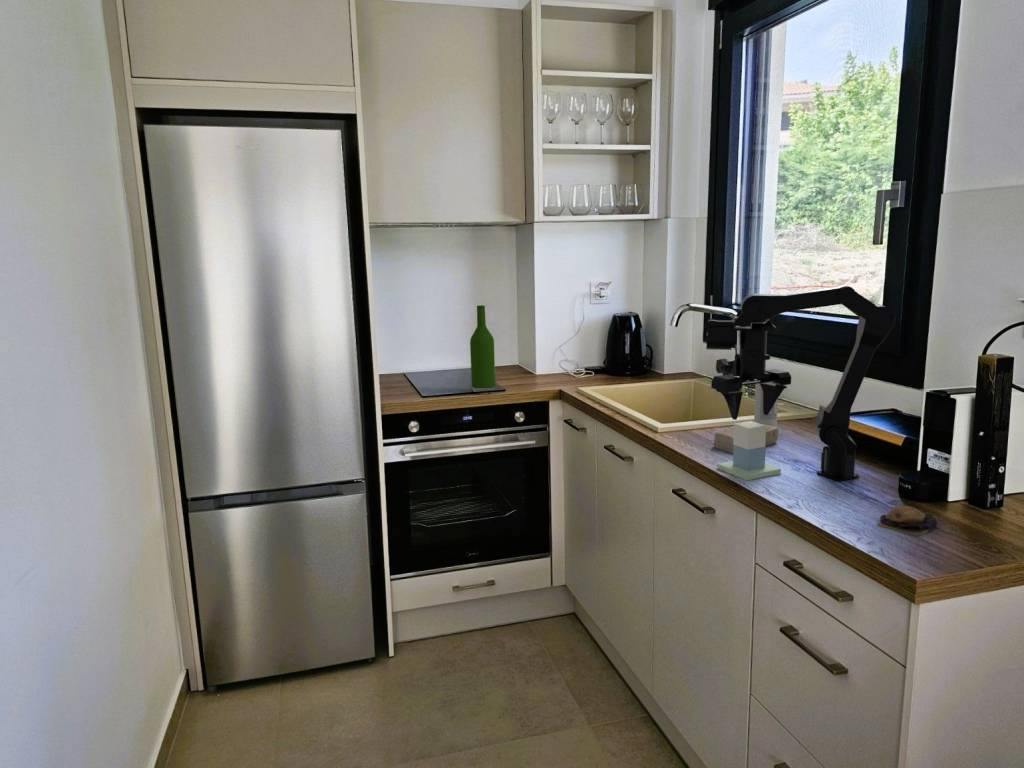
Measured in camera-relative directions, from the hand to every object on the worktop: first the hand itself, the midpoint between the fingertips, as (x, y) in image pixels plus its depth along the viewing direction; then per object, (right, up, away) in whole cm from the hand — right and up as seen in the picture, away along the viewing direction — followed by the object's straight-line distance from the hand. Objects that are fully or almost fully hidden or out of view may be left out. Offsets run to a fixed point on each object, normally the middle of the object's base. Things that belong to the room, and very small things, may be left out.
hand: (750, 417), depth 162 cm
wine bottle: (-66, +4, +103) cm, 122 cm away
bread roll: (+19, -19, -30) cm, 41 cm away
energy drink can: (+17, -6, +38) cm, 42 cm away
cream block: (0, -7, +1) cm, 7 cm away
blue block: (0, -12, +2) cm, 12 cm away
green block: (0, -13, +2) cm, 13 cm away
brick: (+7, -9, +24) cm, 27 cm away
